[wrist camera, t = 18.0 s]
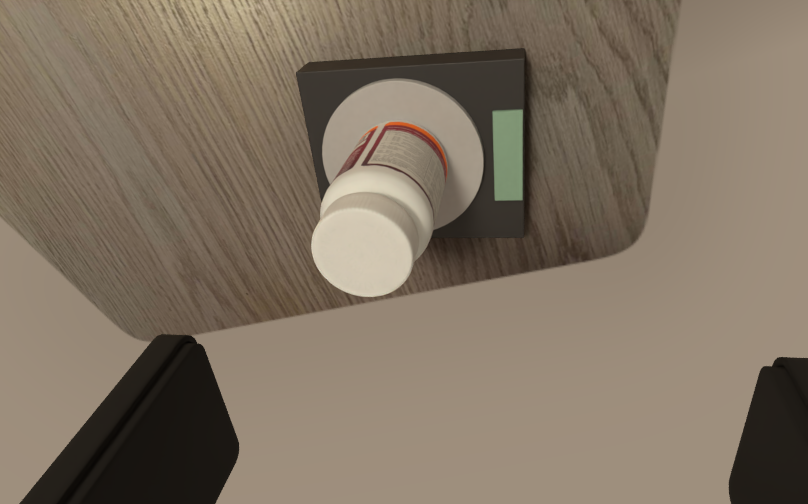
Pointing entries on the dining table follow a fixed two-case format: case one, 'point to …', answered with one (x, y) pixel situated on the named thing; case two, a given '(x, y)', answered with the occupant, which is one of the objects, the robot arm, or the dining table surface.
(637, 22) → the dining table surface
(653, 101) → the dining table surface
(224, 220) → the dining table surface
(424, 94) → the scale
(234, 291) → the dining table surface
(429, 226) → the pill bottle
